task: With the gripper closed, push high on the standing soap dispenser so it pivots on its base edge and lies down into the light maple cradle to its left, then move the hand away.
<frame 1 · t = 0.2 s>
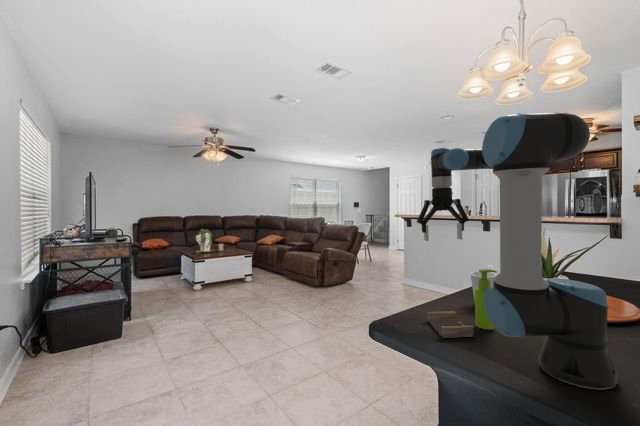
hand: (443, 239, 124), 28 cm above the table, tool pointing down, fingers open, 13 cm apart
soap dispenser: (486, 327, 105), on the table
cradle: (448, 329, 105), on the table
foam cup: (483, 306, 125), on the table
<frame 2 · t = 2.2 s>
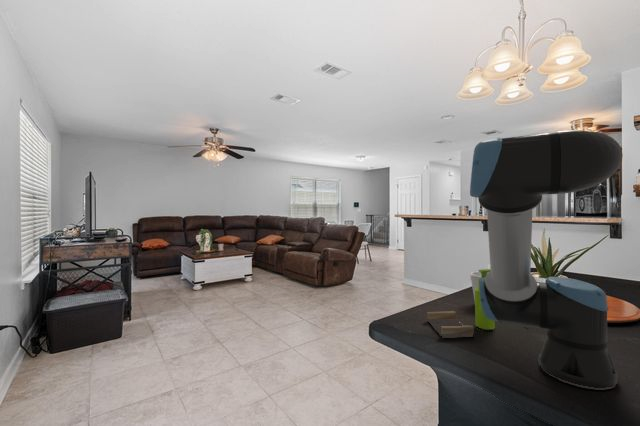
hand: (511, 257, 104), 24 cm above the table, tool pointing down, fingers closed
nothing on the table moved.
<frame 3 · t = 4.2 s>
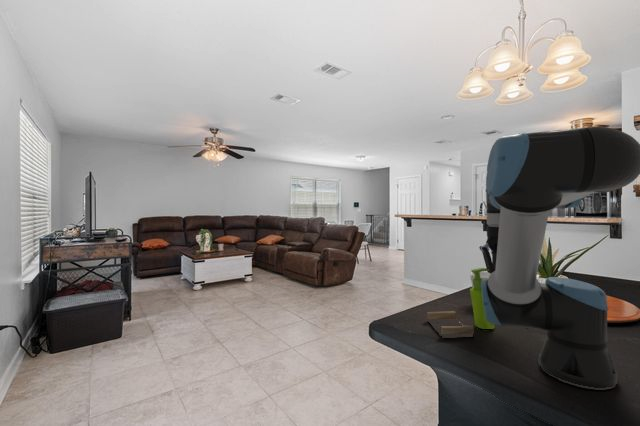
hand: (500, 293, 105), 11 cm above the table, tool pointing down, fingers closed
soap dispenser: (486, 326, 105), on the table, touching hand
everything else where it was.
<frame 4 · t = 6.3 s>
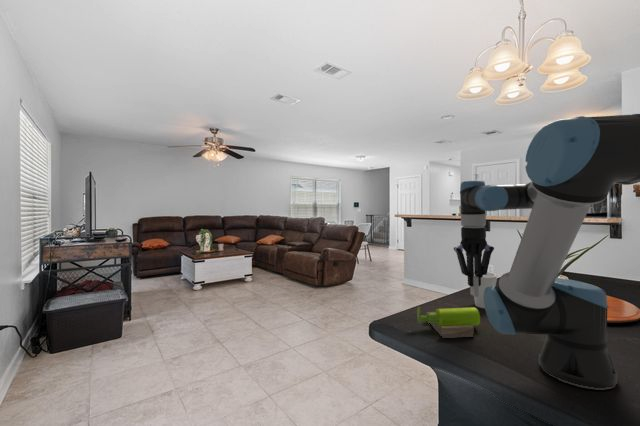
hand: (474, 295, 105), 11 cm above the table, tool pointing down, fingers closed
soap dispenser: (476, 314, 106), point 4 cm above the table, touching cradle
everything else where it was.
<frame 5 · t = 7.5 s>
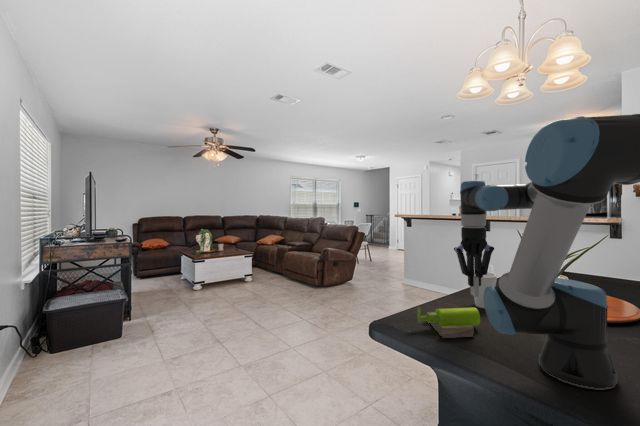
hand: (474, 295, 105), 11 cm above the table, tool pointing down, fingers closed
nothing on the table moved.
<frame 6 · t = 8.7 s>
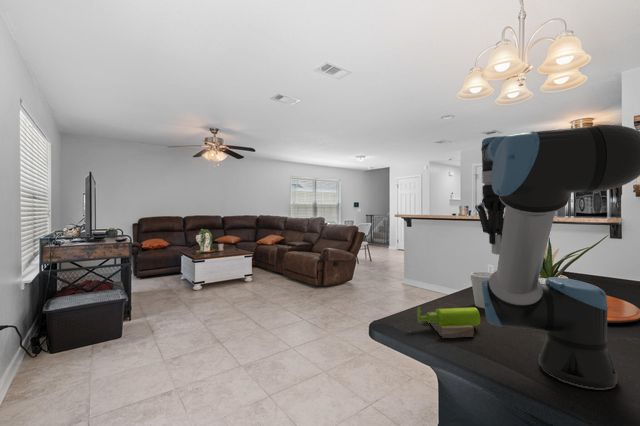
hand: (496, 253, 104), 25 cm above the table, tool pointing down, fingers closed
nothing on the table moved.
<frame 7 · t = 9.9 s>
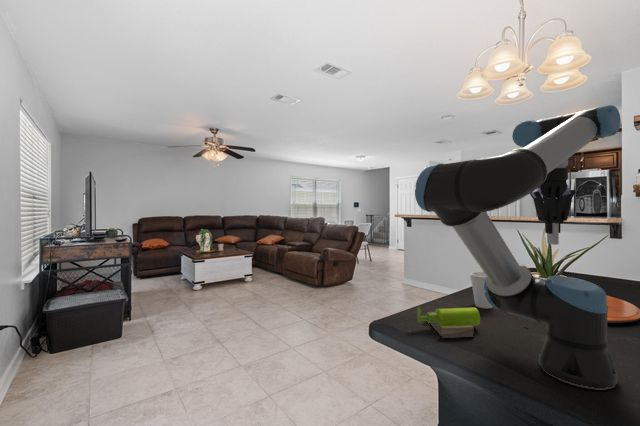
hand: (552, 243, 96), 29 cm above the table, tool pointing down, fingers closed
nothing on the table moved.
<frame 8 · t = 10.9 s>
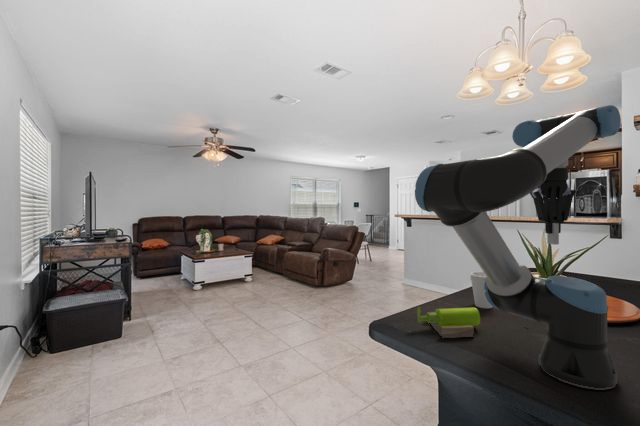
hand: (553, 243, 96), 29 cm above the table, tool pointing down, fingers closed
nothing on the table moved.
at the end: soap dispenser tilted 90°; soap dispenser touching cradle; soap dispenser inside the target area (4.4 cm from its centre), point 4.4 cm above the table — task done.
